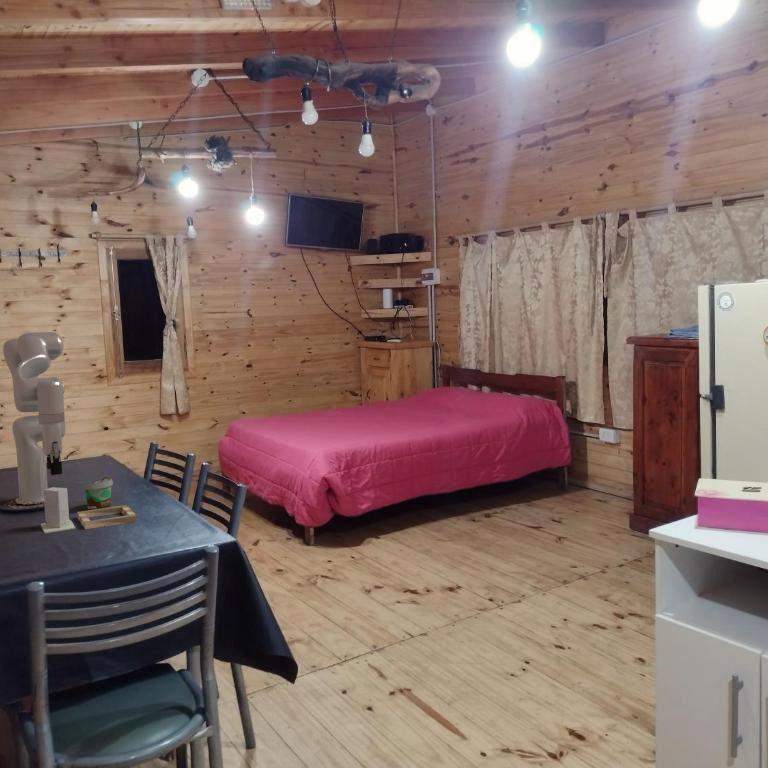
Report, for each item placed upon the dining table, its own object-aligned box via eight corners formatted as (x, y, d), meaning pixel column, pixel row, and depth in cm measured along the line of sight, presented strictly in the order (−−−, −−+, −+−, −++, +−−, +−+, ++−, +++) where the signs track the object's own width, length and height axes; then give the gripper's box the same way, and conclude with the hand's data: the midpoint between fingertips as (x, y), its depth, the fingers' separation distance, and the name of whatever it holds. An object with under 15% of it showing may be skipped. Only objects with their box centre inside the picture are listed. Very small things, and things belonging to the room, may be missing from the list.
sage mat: (40, 525, 235) (40, 523, 235) (70, 520, 240) (70, 519, 240) (44, 533, 226) (44, 532, 226) (75, 528, 230) (75, 527, 230)
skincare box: (69, 524, 234) (67, 488, 233) (60, 528, 230) (58, 491, 229) (55, 522, 236) (52, 486, 235) (45, 526, 232) (42, 489, 231)
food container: (101, 512, 249) (99, 484, 248) (85, 512, 251) (83, 483, 250) (121, 503, 261) (119, 476, 260) (105, 502, 263) (104, 475, 262)
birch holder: (77, 517, 243) (77, 512, 243) (126, 510, 251) (126, 505, 251) (85, 529, 230) (84, 523, 229) (137, 521, 238) (136, 515, 238)
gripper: (35, 416, 235) (38, 467, 237) (41, 423, 220) (44, 478, 222) (60, 414, 239) (63, 465, 241) (68, 421, 224) (71, 475, 226)
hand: (54, 471), depth 231 cm, fingers open, 9 cm apart
